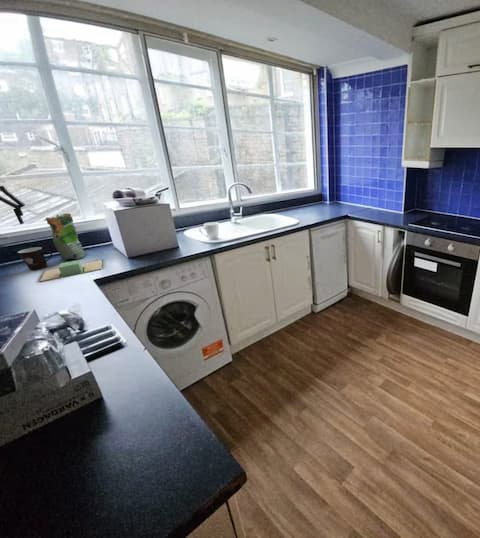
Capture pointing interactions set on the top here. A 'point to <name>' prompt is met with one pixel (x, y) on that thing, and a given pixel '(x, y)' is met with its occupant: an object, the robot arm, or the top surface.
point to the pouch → (65, 237)
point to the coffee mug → (34, 258)
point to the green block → (70, 268)
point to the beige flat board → (57, 274)
